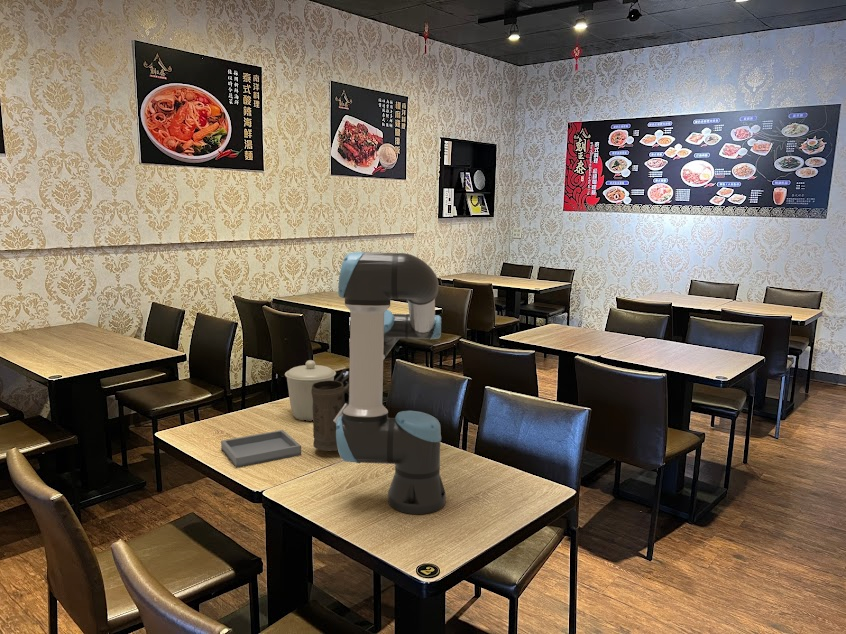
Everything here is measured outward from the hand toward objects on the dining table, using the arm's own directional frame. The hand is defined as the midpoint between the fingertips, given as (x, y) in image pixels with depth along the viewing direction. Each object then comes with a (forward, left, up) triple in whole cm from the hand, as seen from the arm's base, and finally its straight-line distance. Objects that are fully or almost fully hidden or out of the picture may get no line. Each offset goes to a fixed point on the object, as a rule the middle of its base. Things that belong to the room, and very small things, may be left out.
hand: (326, 419), depth 193 cm
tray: (+10, +17, -11) cm, 23 cm away
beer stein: (+1, -3, -9) cm, 10 cm away
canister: (+34, -9, -11) cm, 37 cm away
